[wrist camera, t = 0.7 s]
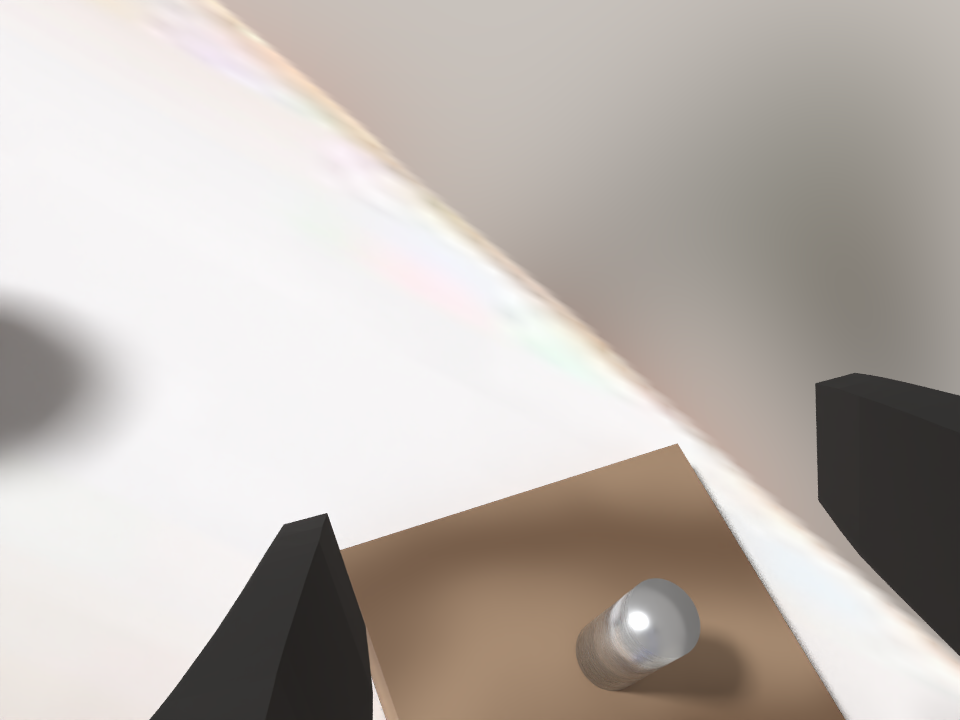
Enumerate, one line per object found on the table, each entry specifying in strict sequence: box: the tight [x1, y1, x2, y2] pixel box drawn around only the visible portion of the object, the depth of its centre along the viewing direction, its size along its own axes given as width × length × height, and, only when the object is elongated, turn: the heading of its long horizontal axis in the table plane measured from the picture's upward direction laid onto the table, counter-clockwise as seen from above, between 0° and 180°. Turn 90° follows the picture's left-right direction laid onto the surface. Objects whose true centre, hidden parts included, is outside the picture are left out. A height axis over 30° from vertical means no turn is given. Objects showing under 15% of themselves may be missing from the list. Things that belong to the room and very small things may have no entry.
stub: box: [576, 578, 700, 691], centre depth 23 cm, size 2×2×4 cm
